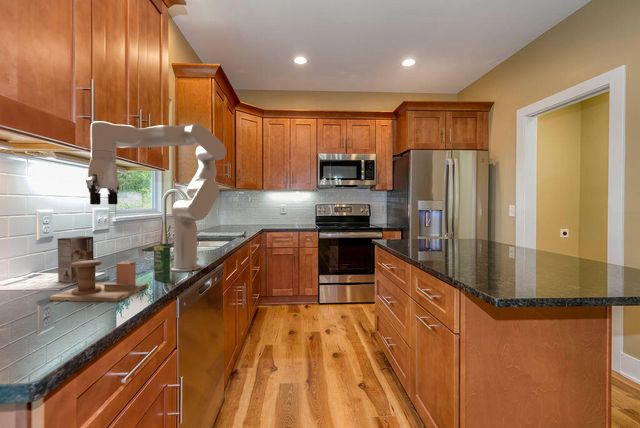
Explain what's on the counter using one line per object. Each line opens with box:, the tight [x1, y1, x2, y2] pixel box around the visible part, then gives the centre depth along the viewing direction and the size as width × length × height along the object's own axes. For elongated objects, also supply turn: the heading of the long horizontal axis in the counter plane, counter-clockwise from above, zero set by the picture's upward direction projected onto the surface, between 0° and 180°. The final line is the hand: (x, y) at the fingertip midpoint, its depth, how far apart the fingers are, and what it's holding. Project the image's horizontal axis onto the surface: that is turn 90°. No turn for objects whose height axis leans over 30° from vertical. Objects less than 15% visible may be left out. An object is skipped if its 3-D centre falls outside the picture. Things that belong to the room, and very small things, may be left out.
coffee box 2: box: [153, 245, 171, 283], centre depth 120 cm, size 8×3×13 cm, turn 51°
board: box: [49, 281, 149, 303], centre depth 102 cm, size 17×20×3 cm
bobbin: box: [71, 259, 103, 295], centre depth 99 cm, size 8×8×9 cm
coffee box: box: [57, 235, 95, 283], centre depth 119 cm, size 9×6×16 cm
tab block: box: [115, 260, 137, 286], centre depth 106 cm, size 4×4×8 cm
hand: (104, 204), depth 114 cm, fingers open, 9 cm apart
